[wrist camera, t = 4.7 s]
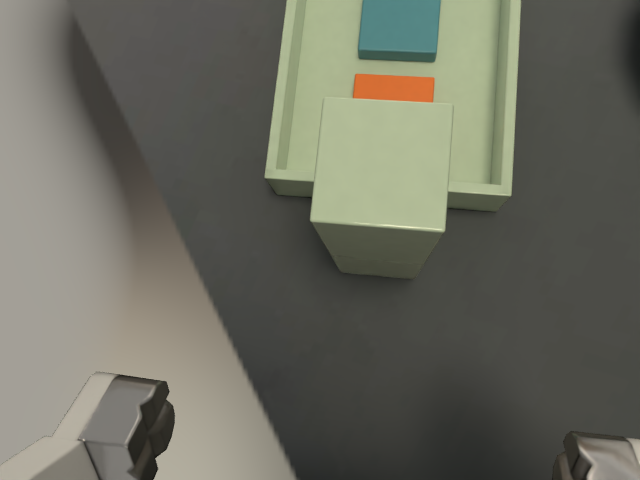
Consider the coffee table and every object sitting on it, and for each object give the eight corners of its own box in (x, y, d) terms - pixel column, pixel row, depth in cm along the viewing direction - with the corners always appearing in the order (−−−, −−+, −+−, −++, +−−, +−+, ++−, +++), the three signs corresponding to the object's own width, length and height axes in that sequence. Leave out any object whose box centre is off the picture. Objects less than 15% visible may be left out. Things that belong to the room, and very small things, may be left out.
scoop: (493, 286, 21) (590, 244, 11) (267, 265, 22) (180, 210, 12) (510, -36, 23) (604, -302, 14) (305, -40, 25) (256, -290, 15)
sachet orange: (426, 179, 22) (428, 173, 21) (346, 173, 22) (345, 167, 21) (433, 85, 22) (435, 76, 22) (355, 81, 23) (355, 72, 22)
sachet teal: (435, 63, 22) (437, 53, 22) (358, 59, 23) (357, 49, 22) (441, -24, 23) (443, -37, 22) (366, -26, 24) (366, -39, 23)
